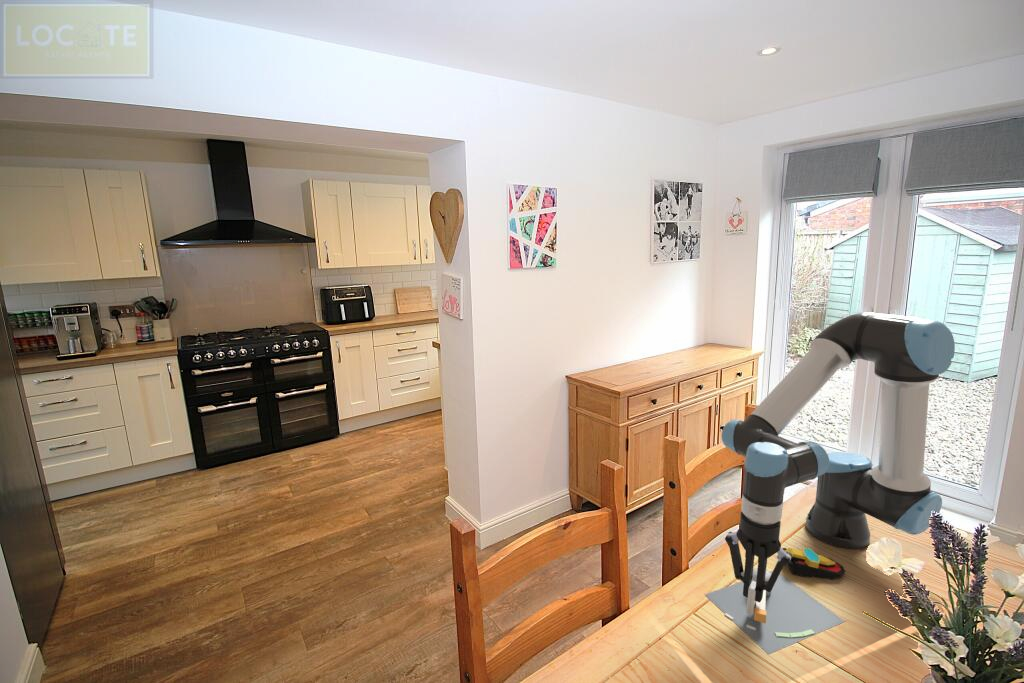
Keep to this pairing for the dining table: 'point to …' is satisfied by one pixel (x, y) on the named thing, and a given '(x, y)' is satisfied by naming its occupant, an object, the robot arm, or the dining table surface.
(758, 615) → the white mallet
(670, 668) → the dining table surface
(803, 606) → the dial board
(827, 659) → the dining table surface
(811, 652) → the dining table surface
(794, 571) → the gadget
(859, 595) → the dining table surface
